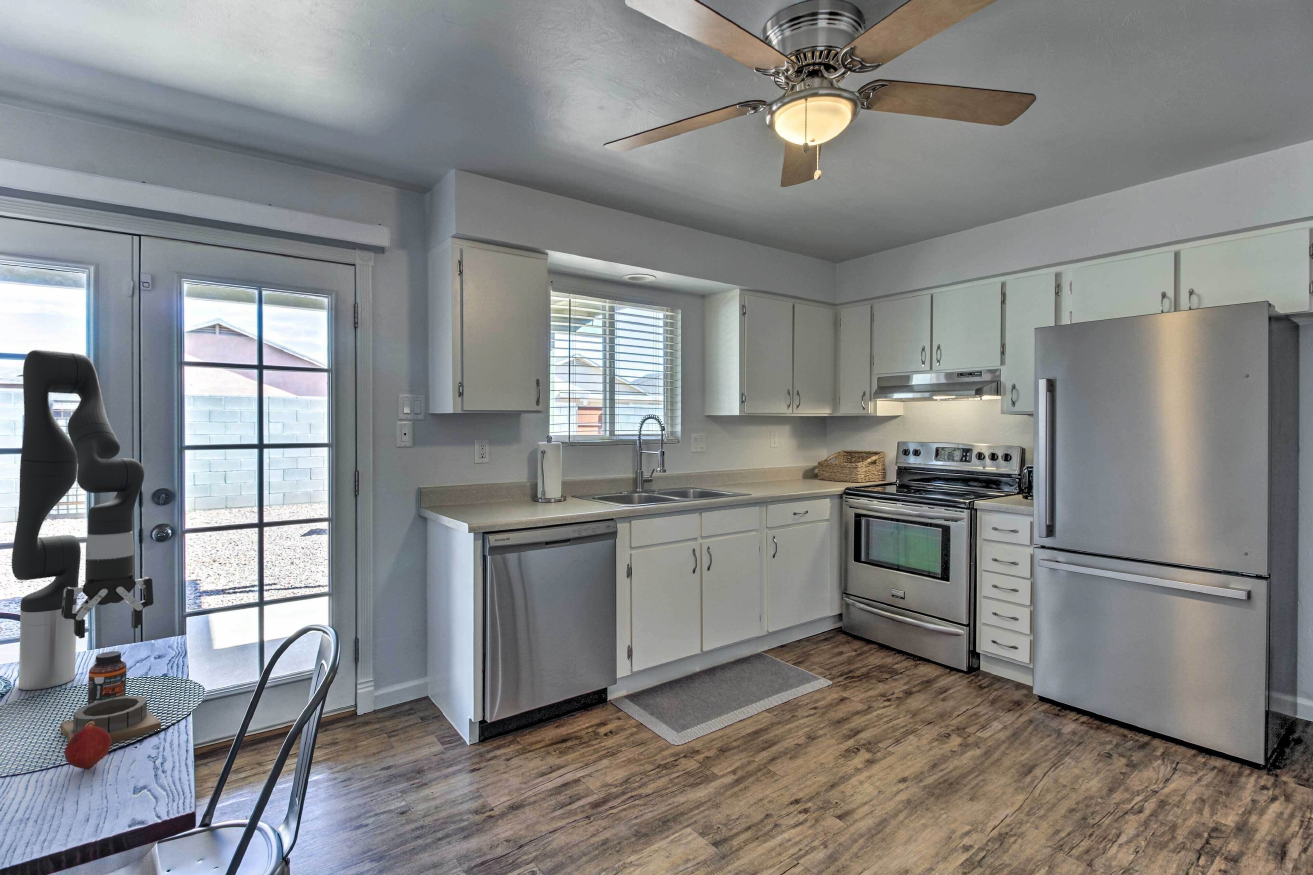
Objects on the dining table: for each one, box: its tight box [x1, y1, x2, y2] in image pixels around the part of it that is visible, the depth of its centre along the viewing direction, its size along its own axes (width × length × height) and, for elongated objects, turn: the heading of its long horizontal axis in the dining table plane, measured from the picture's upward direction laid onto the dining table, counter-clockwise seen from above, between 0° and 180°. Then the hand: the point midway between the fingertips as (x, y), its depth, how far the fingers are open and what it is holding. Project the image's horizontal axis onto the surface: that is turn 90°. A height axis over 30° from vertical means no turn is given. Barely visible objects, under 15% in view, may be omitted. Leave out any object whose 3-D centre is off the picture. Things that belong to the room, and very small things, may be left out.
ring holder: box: [59, 695, 162, 745], centre depth 120 cm, size 14×12×4 cm
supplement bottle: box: [87, 650, 128, 705], centre depth 130 cm, size 6×6×11 cm
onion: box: [64, 721, 112, 770], centre depth 106 cm, size 6×6×8 cm
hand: (108, 632), depth 130 cm, fingers open, 8 cm apart
